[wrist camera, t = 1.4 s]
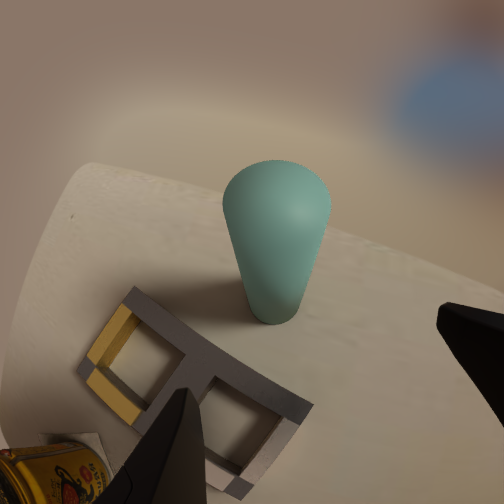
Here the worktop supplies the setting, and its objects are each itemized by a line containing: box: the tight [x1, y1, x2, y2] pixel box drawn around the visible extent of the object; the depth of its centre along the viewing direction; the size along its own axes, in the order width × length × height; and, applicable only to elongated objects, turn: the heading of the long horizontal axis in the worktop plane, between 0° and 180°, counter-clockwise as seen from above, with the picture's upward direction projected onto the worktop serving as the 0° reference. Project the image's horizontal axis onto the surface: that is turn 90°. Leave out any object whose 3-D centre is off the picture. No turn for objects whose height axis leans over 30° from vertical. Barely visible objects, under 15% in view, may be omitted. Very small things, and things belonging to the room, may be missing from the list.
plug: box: [223, 160, 331, 325], centre depth 16 cm, size 4×4×13 cm
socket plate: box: [77, 286, 314, 501], centre depth 18 cm, size 9×16×2 cm, turn 57°
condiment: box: [0, 432, 114, 504], centre depth 10 cm, size 7×8×12 cm
